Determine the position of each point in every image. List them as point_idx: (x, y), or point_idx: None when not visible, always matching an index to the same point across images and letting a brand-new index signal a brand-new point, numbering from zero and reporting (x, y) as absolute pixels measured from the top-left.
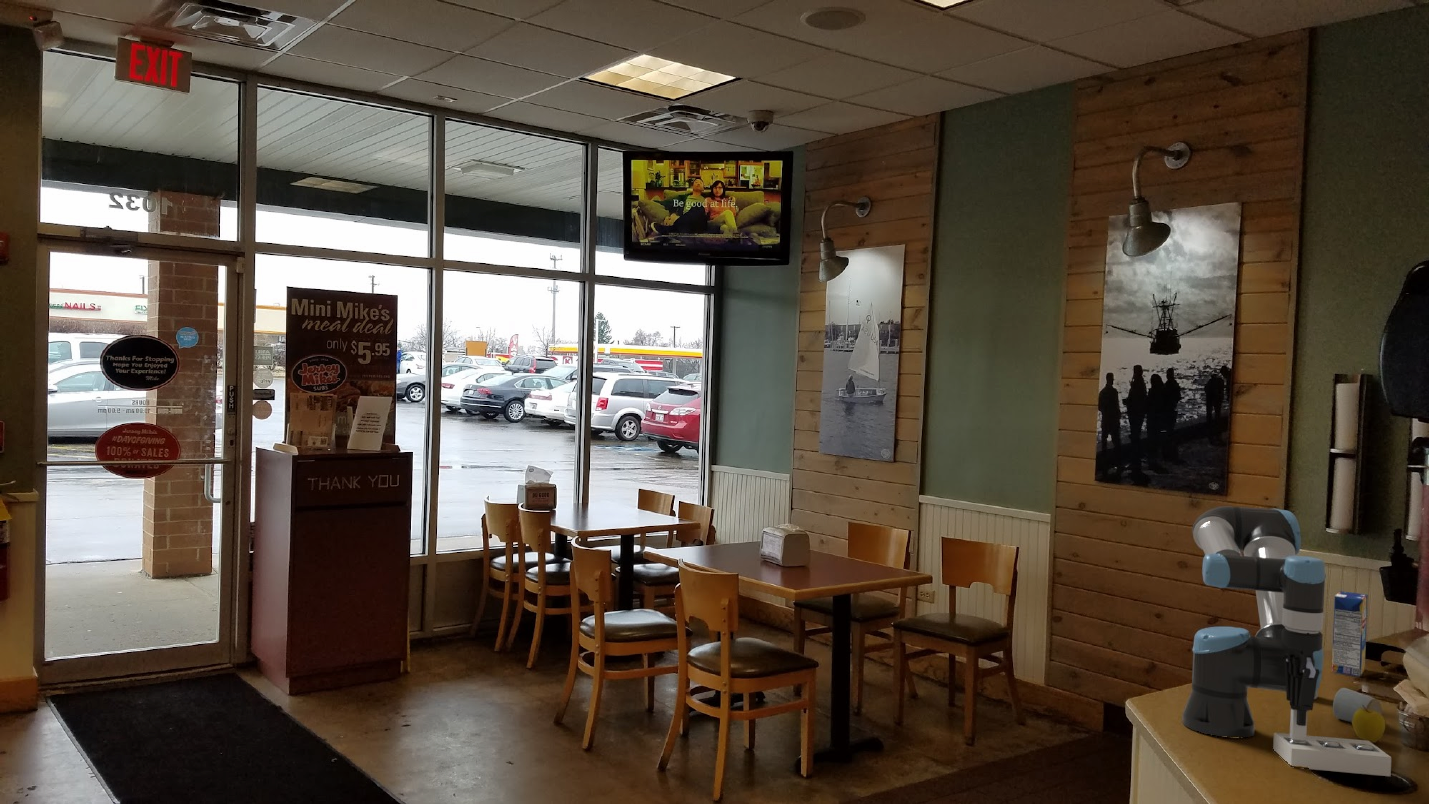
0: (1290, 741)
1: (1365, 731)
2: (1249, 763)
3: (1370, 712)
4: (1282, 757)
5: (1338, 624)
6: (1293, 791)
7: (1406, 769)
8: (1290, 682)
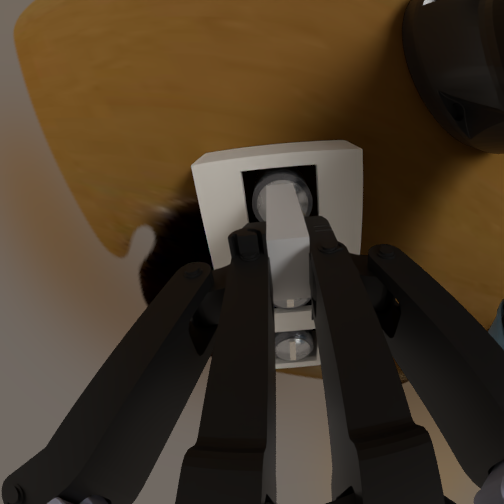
0: (267, 177)
1: None
2: (190, 49)
3: None
4: (270, 145)
5: None
6: (51, 141)
7: None
8: (429, 341)
